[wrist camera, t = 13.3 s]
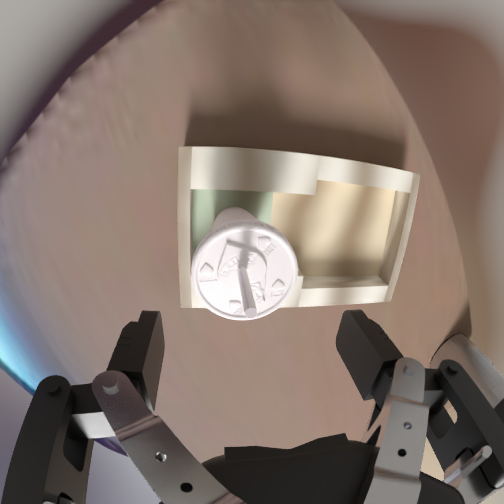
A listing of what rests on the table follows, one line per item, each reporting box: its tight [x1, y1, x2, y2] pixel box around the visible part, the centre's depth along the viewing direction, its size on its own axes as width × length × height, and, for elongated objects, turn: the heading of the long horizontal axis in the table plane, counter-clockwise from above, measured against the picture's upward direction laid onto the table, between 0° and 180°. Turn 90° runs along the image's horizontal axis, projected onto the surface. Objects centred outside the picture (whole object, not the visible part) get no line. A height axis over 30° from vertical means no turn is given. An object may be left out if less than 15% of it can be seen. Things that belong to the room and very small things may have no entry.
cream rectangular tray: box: [178, 146, 420, 308], centre depth 25 cm, size 22×14×4 cm, turn 86°
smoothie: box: [191, 207, 298, 320], centre depth 19 cm, size 6×6×14 cm
